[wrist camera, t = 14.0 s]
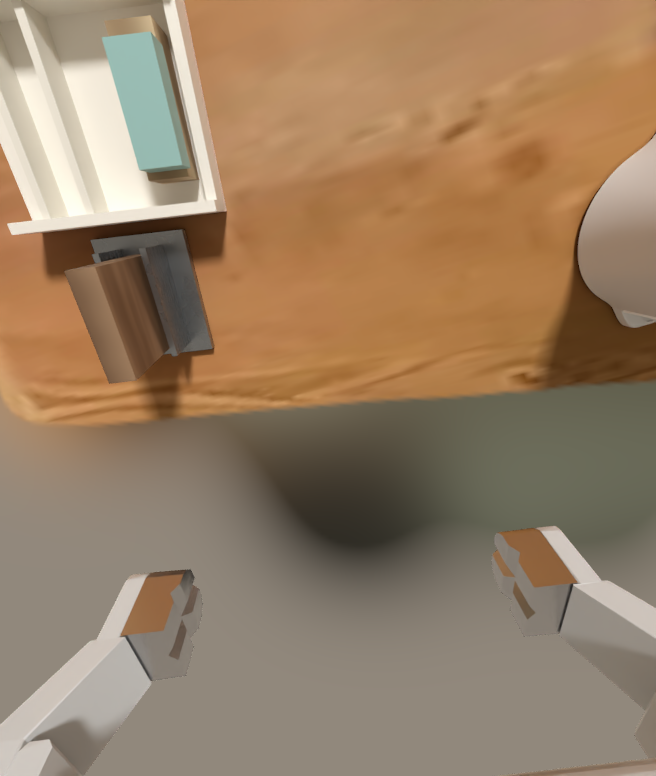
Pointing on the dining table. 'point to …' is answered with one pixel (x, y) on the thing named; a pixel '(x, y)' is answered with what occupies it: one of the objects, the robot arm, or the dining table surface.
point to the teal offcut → (147, 101)
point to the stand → (167, 284)
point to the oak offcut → (151, 26)
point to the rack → (91, 117)
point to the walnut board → (120, 315)
